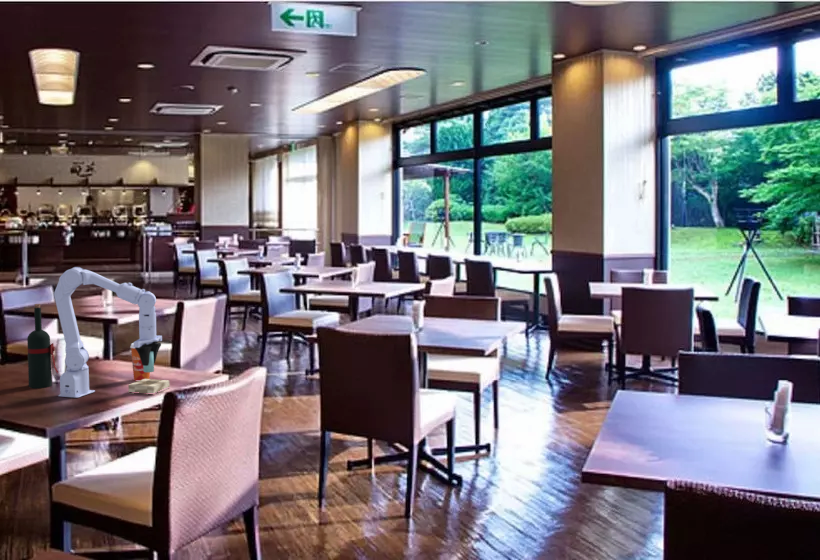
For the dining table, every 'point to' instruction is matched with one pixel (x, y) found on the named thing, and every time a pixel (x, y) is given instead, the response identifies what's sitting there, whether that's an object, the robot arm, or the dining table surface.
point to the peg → (150, 363)
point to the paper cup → (138, 365)
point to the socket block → (148, 386)
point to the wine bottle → (39, 354)
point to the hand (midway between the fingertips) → (148, 364)
